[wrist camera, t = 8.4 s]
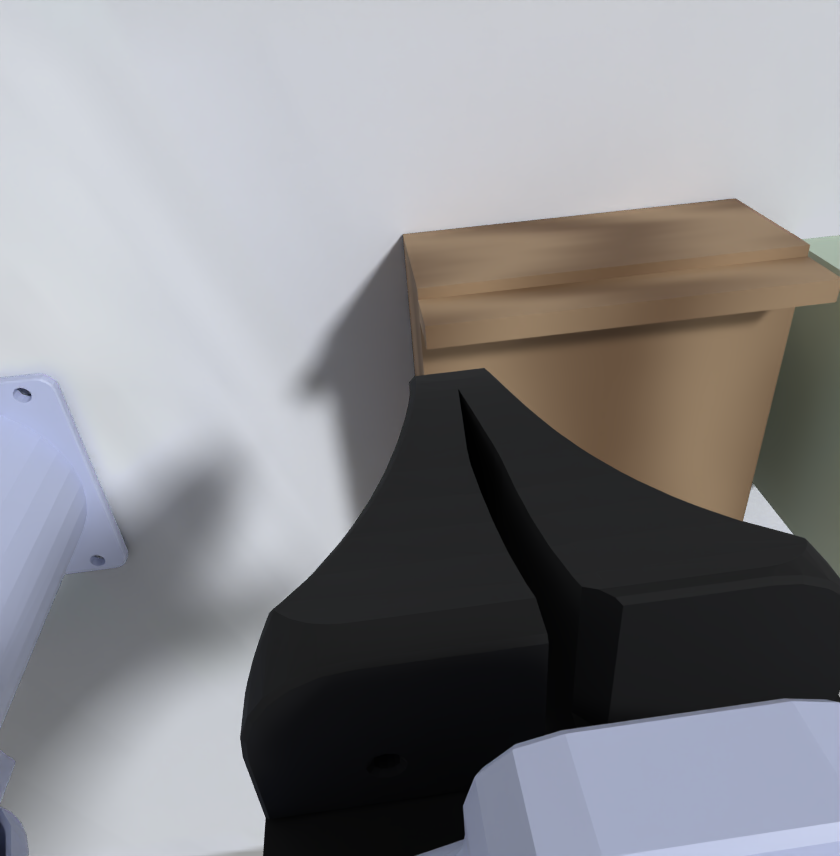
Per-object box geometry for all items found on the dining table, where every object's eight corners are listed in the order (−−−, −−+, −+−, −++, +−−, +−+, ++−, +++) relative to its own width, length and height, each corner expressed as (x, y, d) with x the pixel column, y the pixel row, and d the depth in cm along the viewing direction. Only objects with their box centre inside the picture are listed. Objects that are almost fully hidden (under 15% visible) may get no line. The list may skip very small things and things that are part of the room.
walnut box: (429, 537, 28) (449, 653, 23) (402, 234, 21) (424, 314, 16) (681, 504, 28) (749, 612, 24) (735, 198, 21) (845, 267, 17)
